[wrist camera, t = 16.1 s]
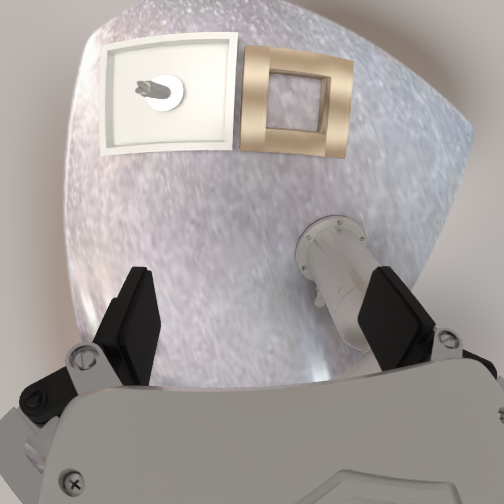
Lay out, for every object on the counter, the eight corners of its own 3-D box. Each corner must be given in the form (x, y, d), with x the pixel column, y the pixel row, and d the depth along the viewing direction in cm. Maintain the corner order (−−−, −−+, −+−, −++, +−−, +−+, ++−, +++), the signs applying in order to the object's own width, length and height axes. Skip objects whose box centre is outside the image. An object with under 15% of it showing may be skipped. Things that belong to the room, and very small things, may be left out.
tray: (231, 146, 37) (232, 150, 34) (110, 152, 35) (100, 156, 32) (237, 38, 29) (238, 32, 26) (111, 49, 27) (101, 45, 24)
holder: (334, 153, 38) (344, 158, 35) (239, 147, 37) (240, 150, 33) (342, 64, 31) (353, 61, 28) (243, 51, 30) (245, 45, 27)
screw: (162, 117, 33) (144, 91, 31) (192, 97, 32) (173, 70, 30) (130, 122, 22) (105, 84, 19) (173, 90, 21) (147, 52, 18)
